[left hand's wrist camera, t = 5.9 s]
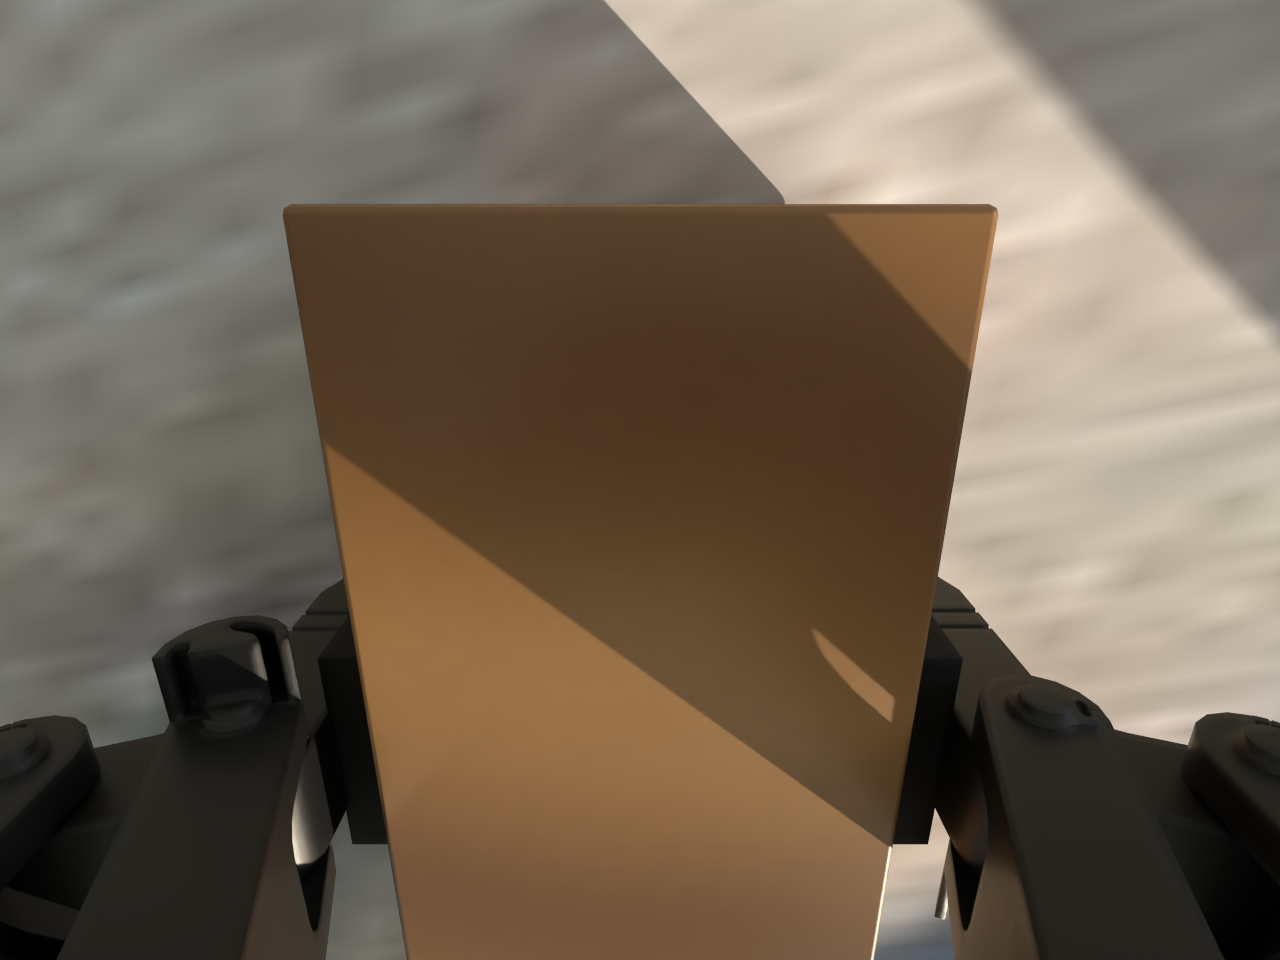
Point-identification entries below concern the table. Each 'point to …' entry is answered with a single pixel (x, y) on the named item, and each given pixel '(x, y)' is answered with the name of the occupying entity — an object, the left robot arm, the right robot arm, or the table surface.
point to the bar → (640, 555)
